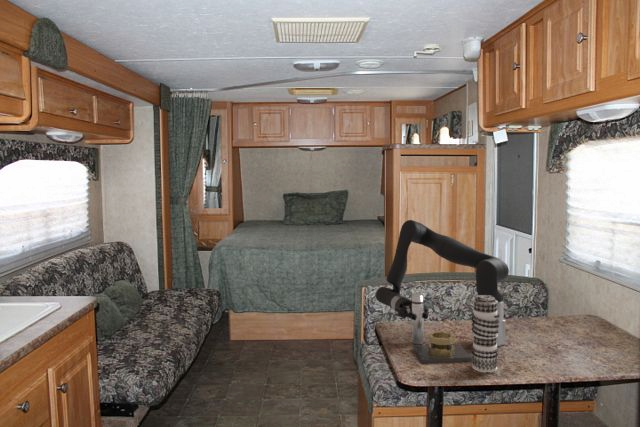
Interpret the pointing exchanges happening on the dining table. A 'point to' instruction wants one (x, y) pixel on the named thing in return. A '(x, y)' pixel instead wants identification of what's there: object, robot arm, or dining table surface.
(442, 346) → the collar stand
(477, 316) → the decorative candle
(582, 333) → the dining table surface
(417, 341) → the metal thermos flask
